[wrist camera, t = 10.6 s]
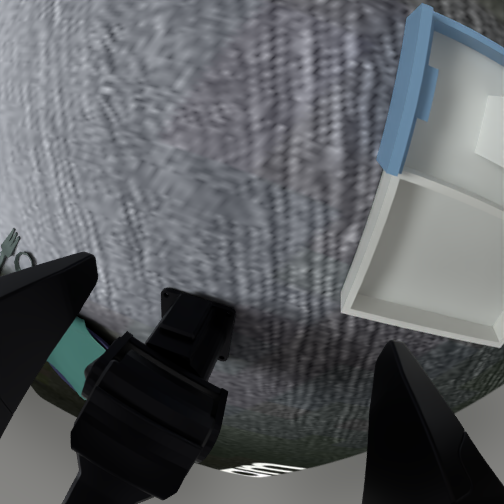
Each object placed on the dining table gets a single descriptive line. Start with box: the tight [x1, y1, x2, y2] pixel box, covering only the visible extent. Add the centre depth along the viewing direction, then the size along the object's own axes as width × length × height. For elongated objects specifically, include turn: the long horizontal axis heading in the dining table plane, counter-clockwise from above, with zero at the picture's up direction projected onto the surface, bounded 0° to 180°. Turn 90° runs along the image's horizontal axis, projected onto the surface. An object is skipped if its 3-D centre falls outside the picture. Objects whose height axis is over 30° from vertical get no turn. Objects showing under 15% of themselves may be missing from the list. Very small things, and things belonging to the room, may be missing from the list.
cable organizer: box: [341, 3, 504, 348], centre depth 14 cm, size 20×16×4 cm
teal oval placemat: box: [0, 228, 110, 400], centre depth 34 cm, size 20×30×2 cm, turn 33°
